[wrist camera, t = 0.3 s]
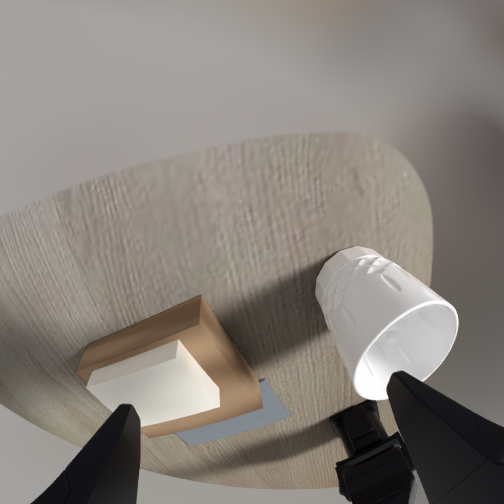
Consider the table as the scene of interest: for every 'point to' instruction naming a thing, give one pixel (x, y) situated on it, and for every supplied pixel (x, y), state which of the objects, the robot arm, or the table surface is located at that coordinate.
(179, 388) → the white sticky note pad
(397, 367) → the white cup
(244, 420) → the mat
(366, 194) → the table surface
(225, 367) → the tan beveled block
